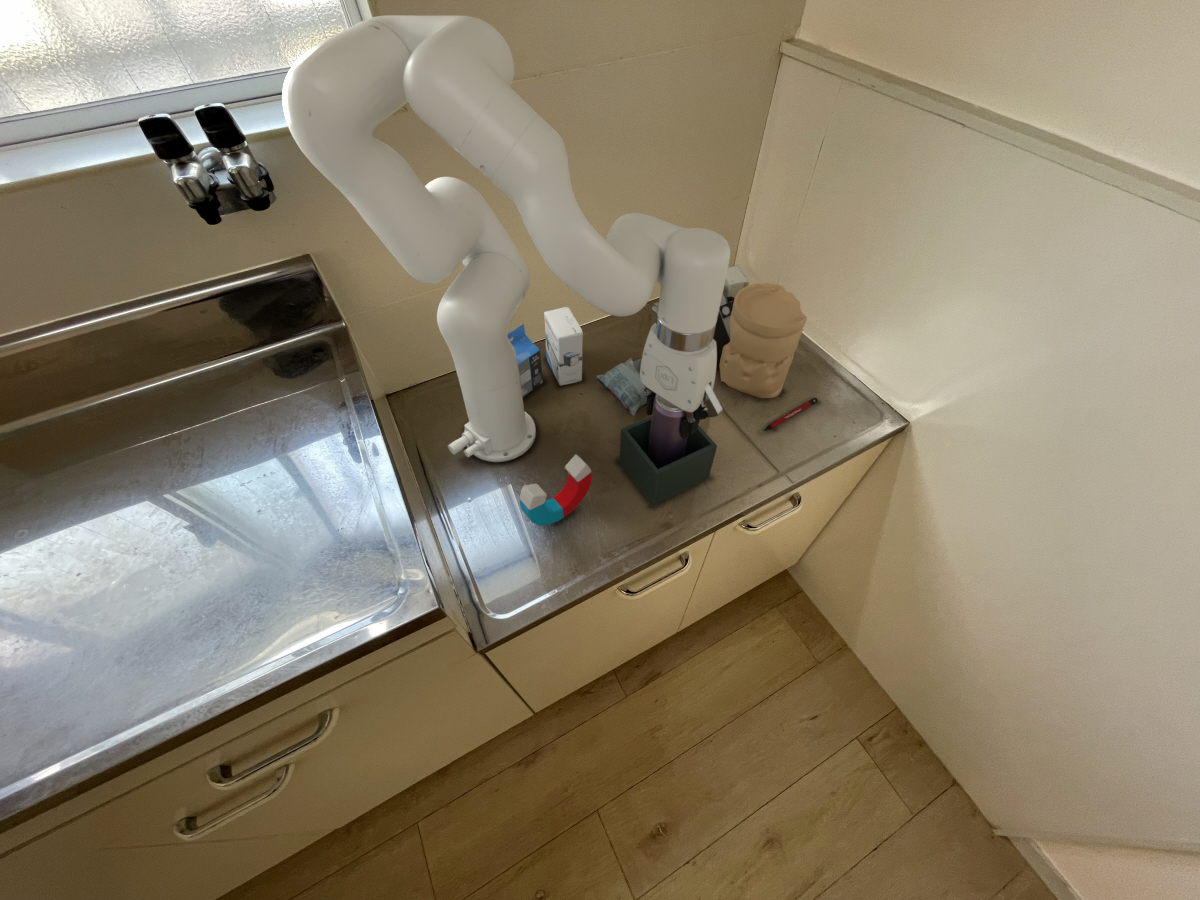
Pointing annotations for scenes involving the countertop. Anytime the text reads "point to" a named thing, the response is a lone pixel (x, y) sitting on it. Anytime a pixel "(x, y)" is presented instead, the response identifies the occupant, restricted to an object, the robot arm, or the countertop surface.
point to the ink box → (564, 345)
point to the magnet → (563, 501)
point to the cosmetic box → (734, 282)
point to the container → (761, 339)
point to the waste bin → (671, 476)
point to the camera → (723, 326)
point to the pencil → (791, 414)
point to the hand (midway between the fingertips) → (670, 420)
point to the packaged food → (625, 386)
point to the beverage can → (666, 433)
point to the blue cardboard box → (526, 360)
